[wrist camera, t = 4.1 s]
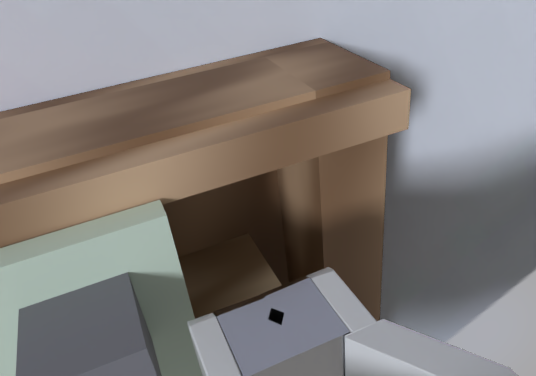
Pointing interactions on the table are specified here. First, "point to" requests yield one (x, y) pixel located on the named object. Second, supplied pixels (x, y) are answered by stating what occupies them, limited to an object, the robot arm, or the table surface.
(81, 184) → the brown wooden shallow box
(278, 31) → the table surface
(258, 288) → the oak block
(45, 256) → the cover
